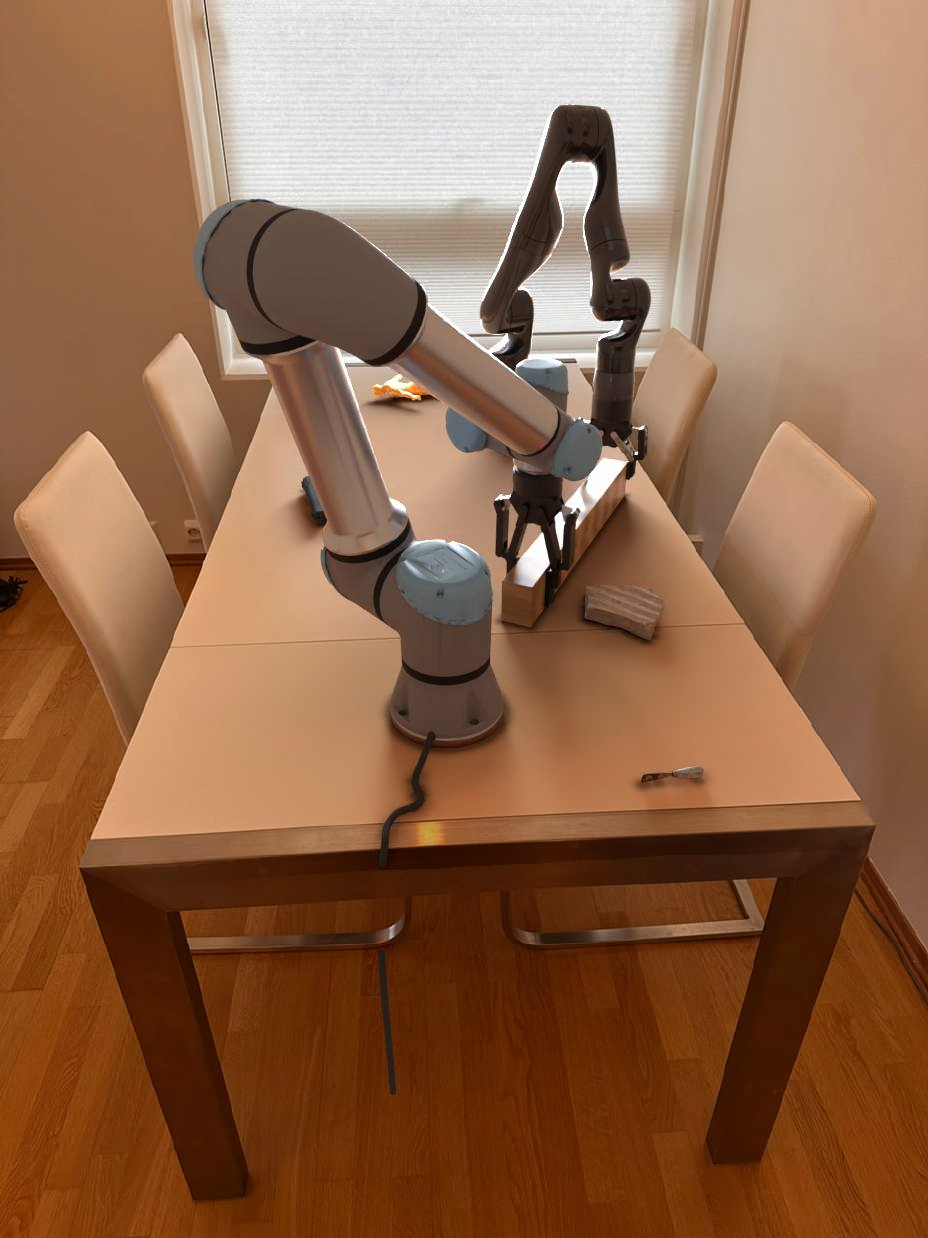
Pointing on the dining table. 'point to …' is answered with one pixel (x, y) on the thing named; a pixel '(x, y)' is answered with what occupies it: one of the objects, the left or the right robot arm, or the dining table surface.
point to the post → (529, 574)
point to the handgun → (313, 501)
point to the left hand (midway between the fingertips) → (532, 599)
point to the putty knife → (674, 774)
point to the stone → (624, 608)
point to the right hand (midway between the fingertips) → (606, 475)
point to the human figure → (399, 389)
